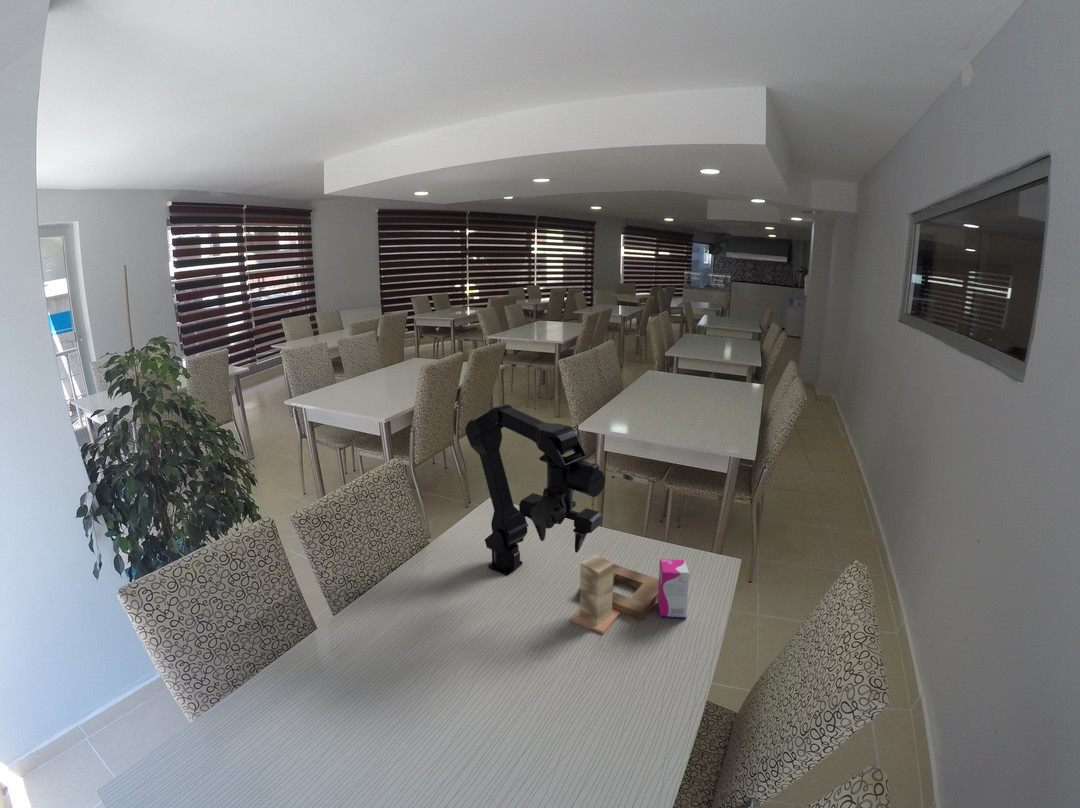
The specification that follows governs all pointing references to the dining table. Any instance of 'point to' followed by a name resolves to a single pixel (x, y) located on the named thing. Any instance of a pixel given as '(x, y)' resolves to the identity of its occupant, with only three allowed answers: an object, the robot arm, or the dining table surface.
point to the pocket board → (640, 599)
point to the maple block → (596, 589)
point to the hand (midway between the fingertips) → (559, 546)
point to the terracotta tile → (599, 628)
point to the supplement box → (673, 588)
